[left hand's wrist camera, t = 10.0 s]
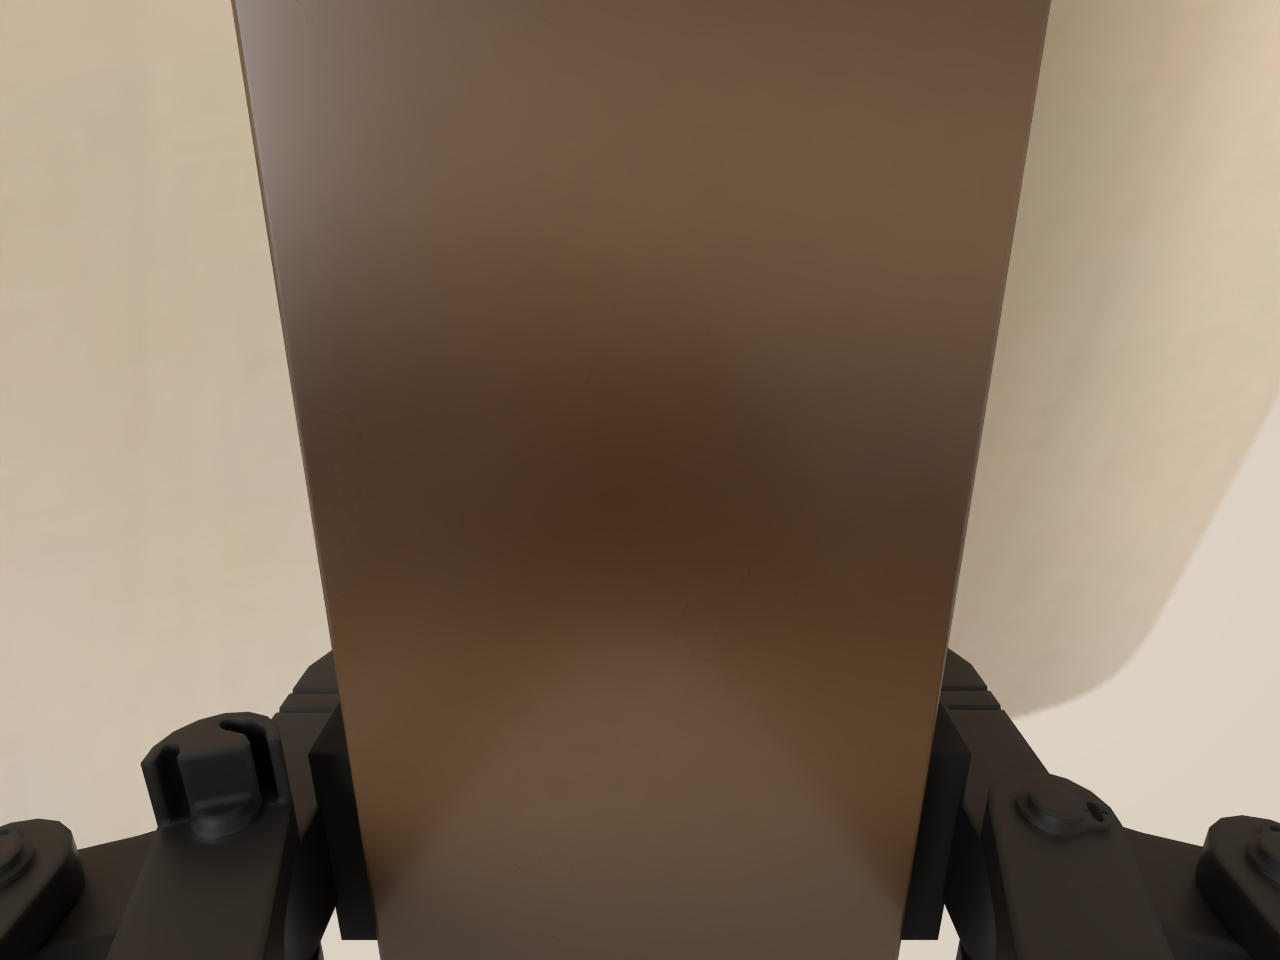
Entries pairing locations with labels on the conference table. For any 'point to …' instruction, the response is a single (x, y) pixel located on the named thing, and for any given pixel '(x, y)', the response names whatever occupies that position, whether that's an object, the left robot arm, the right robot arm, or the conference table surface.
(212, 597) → the conference table surface
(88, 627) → the conference table surface
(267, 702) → the conference table surface
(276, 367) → the conference table surface
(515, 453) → the bar
